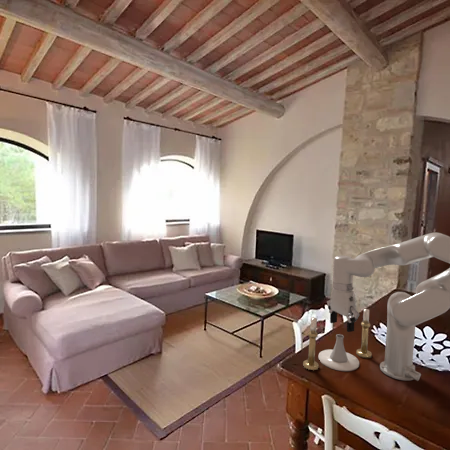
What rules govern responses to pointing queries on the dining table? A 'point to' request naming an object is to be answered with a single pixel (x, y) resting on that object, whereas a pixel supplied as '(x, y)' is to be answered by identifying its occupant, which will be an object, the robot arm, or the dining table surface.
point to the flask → (339, 350)
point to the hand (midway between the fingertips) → (341, 326)
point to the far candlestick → (364, 336)
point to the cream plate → (346, 366)
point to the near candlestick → (312, 347)
